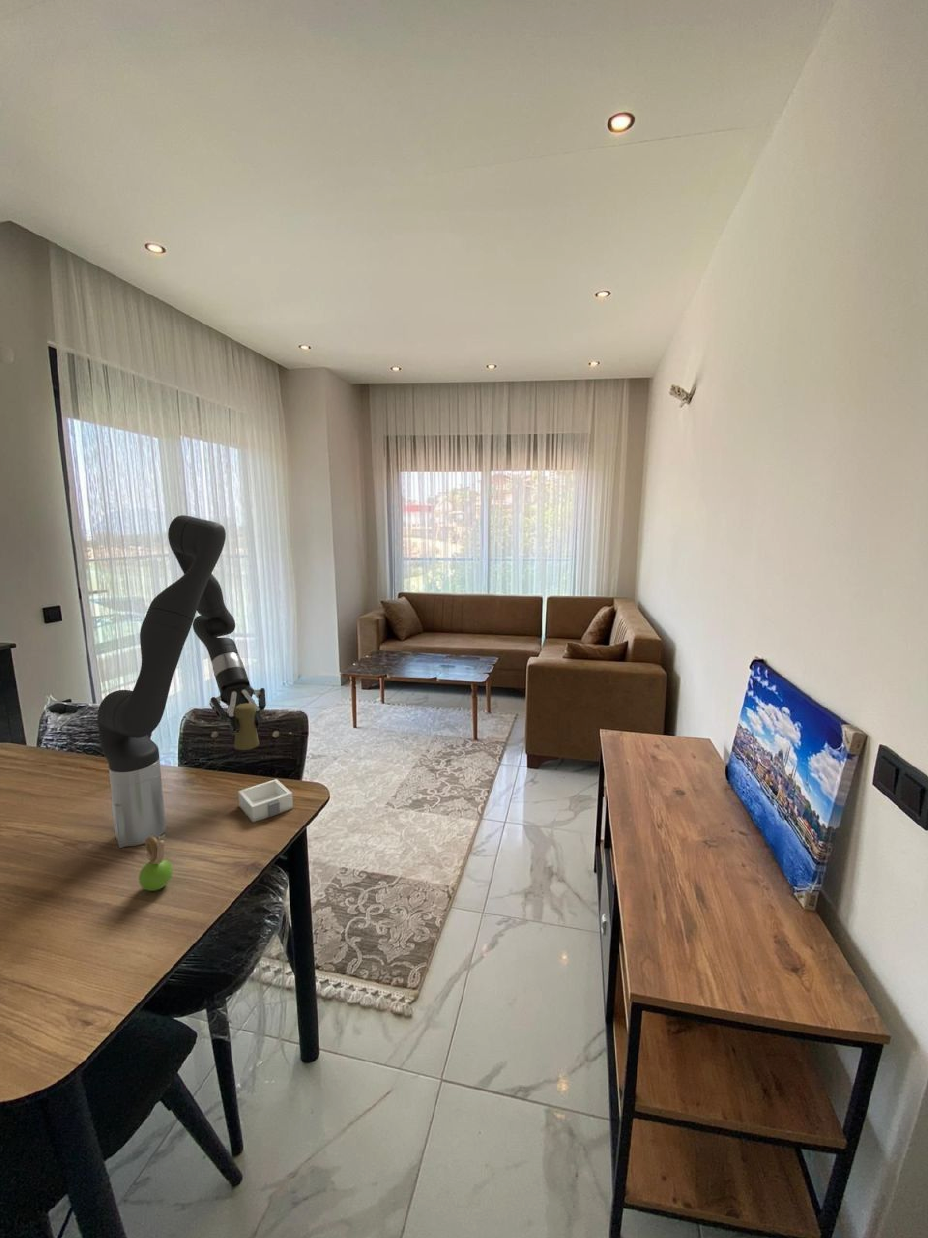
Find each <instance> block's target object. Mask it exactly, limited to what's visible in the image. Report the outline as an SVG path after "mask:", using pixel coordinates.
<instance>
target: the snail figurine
mask: <svg viewBox="0 0 928 1238" xmlns="http://www.w3.org/2000/svg"><path fill="white" fill-rule="evenodd" d="M161 839H162V840H161ZM144 845H145V849H146V851H147V852H146V856H147V857H146V858H147V860H148V861H149V862H147V863H146V864H145V865H144V866H143V867H142V869H141V870H140V872H139V875H138V881H139V884H140V886H141V888H143V889H144V890H146V891H149V892H150V891H151V892H153V891H154V892H155V891H159V890H161V889H162V888H164V887H165V886H166V885H167V884H169V882H170V880H171V879H172V876H173V866H172V864H171V863H170V861H169V860H167V859H165V853H166V849H165V845H166V842H165V834H162V835H161V836H159V837H158V838H156V837H154V836H149V837H148V838H147V839H146V841H145V843H144Z"/></svg>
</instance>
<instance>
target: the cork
mask: <svg viewBox="0 0 928 1238" xmlns="http://www.w3.org/2000/svg"><path fill="white" fill-rule="evenodd" d="M255 713H256V708H255V706H254V705H253V704H249V703H245V704H240V705H238V706H236V707H235V709H234V717H236V720H237V724H238V727H239V731H238V732H237V733H234V744H233V745H234V746H233V748H234V749H235V750H239V751H248V750H252V749H255V748H257V747H259V745H260V740H259V735H258V731H257V729H258V728H257V727H256V724H255V720H254V715H255Z"/></svg>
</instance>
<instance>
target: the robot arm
mask: <svg viewBox="0 0 928 1238" xmlns="http://www.w3.org/2000/svg"><path fill="white" fill-rule="evenodd" d="M226 532H227V531H226V528H225V527H224V526H223V525H222V524H220V523H218V522H216V521H212V520H207V519H203V518H198V517H196V516H190V515H183V514H182V515H178V516H176V517H175V518H174V519H173V520H172V521H171V523H170V525H169V528H168V532H167V534H168V535H167V538H168V543H169V547H170V548H171V551H172V554H173V555H174V557H175V559H176V561H177V563H178V565H179V567H180V569H181V571H182V573H183V575H182V576H181V577H179V578H178V579H177V580H176V581H174V582H173V583H171V584H170V585H169V586H168V587H166V588H164V590H162V591H161V592H160V593H159V594H157V595H155V597H154V598H153V600H152V601H151V602H150V604H149V606H148V609H147V611H146V614H145V616H144V618H143V621H142V624H141V626H140V631H139V641H140V642H139V643H140V652H141V666H140V671H139V674H138V677H137V680H136V683H135V685H134V687H133V690H130V689H118V690H115V691H112V692H110V693H108V694H107V695H105V697H104V698H103V699H102V700H101V701H100V704H99V706H98V710H97V717H96V719H97V721H96V722H97V727H98V734H99V741H100V746H101V751H102V754H103V755H104V758H105V759H106V760H107V763H108V770H109V771H108V772H109V780H110V788H111V798H110V799H111V809H112V818H113V819H112V820H113V827H114V834H115V839H116V842H117V844H118V848H120V849H121V848H126V847H134V846H135V847H136V846H140V845H143V844H144V845H145V841H146V839H147V838H148V837H149V836H154V837H156V838H157V839H158V837H161V836H162V835H164V832H165V831H166V830H167V823H166V816H165V815H166V812H165V802H164V801H165V800H164V793H163V781H162V780H163V779H162V771H161V770H162V769H161V760H160V759H161V757H160V751H159V747H158V745H157V744H156V743H155V742H154V741H153V740H152V739H151V738H150V736H149V735H150V734H151V733H153V732H154V731H155V730H156V729H157V727H158V726H159V724H160V722H161V720H162V719H163V716H164V713H165V709H166V706H167V703H168V698H169V694H170V689H171V685H172V682H173V679H174V674H175V671H176V670H177V669H176V668H177V666H178V663H179V660H180V657H181V654H182V653H183V652H182V651H183V649H184V645H185V643H186V641H187V638H188V636H189V634H190V631H191V628H192V630H193V632H194V633H195V636H197V638H198V639H199V641H201V643H202V644H203V645H204V647H205V648H206V651H207V652H208V656H209V658H210V661H211V665H212V672H213V677H214V678H215V682H216V685H217V688H218V691H219V696H217V697H215V696H213V697H211V698H210V699H209V700H210V701H209V704H208V705H209V706H210V707H211V709H212V711H213V712H214V714H215V715H216V716H217V718H218V720H219V721H224V720H225V721H227V722H228V725H229V728H230V730H231V732H233V733H234V734H235V733H237V732H238V731H239V727H238V724H237V720H236V719H237V718H236V717H235V716H234V709H235V707H236V706H238V705H240V704H245V703H249V704H253V705H254V706H255V708H256V713H255V715H254V720H255V724H256V729H258V728H260V727H261V726H262V724H263V722H264V721H263V718H262V717H263V716H262V714H261V713H263V712H264V710H265V708H266V706H267V705H266V703H267V702H266V690H265V688H264V687H261V688H260V689H254V688H253V687H252V685H251V683H250V680H249V677H248V675H247V671H246V669H245V666H244V662H243V661H242V658H241V657H240V654H239V651H238V648H237V646H236V642H235V641H234V639H232V638H230V637H227V635H230V634H232V633H233V632H234V631H235V629H236V621H235V619H234V617H233V615H232V614H231V612H230V611H229V610H228V608H227V606H226V604H225V600H224V595H223V589H222V586H221V584H220V583H219V581H218V579H217V578H216V577H215V576H214V574H213V572H214V569H215V567H216V565H217V563H218V561H219V559H220V557H221V554H222V552H223V550H224V546H225V544H226V535H227V534H226ZM197 614H199V615H198V616H196V615H197ZM224 636H226V637H224ZM253 695H254V696H255V698H257V699H258V700H257V701H258V705H257V703H256V701H255V700H254V699H253ZM221 702H222V703H224V704H225V705H226V706H227V712H225V710H224V709H223V707H222V705H221Z"/></svg>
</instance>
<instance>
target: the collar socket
mask: <svg viewBox="0 0 928 1238" xmlns="http://www.w3.org/2000/svg"><path fill="white" fill-rule="evenodd" d="M237 795H238V806H239V808H240V809H241V810H242V812H244V814H245V815H246V816H247V818H249V820H250V821H251V822H252V823H256V822H258V821H261V820H264V819H266V818H272V817H274V816H276V815H280V814H281V813H284V812H286V811H289V810H292V809H293V807H294V806H293V792H292V791H290V790H289V789H288V788H287V787H286V786H285V785H284V784H283V783H282V782H280V780H279V779H278V778H275V779H273V780H269V781H266V782H263V783H260V784H257V785H254V786H251V787H248V788H245V789H242V790H238V793H237Z"/></svg>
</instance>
